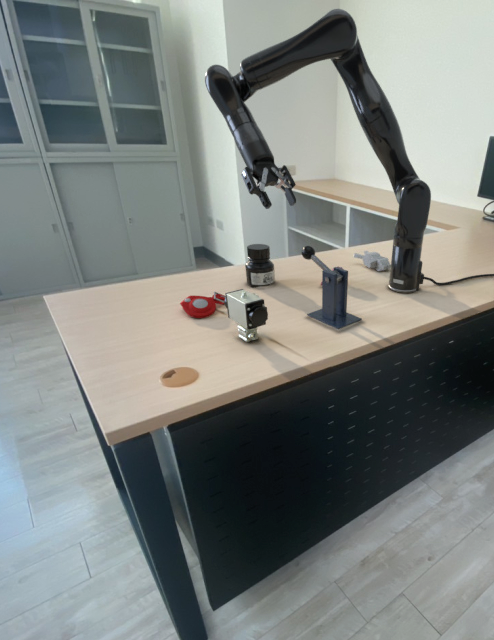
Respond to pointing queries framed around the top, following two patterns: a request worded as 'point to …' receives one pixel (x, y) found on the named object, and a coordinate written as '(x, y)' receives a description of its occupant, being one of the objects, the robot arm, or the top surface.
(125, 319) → the top surface
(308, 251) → the clamp handle
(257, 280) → the ink bottle
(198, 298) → the tracker holder
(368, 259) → the bunny figurine
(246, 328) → the pneumatic valve
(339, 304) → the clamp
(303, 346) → the top surface
